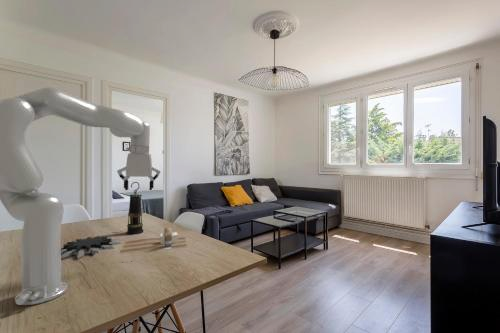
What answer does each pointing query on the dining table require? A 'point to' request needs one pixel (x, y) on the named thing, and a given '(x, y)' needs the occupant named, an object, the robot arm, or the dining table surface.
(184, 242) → the floor panel
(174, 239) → the block
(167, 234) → the awl
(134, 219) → the lantern
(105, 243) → the decorative piece
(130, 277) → the dining table surface
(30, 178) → the robot arm
